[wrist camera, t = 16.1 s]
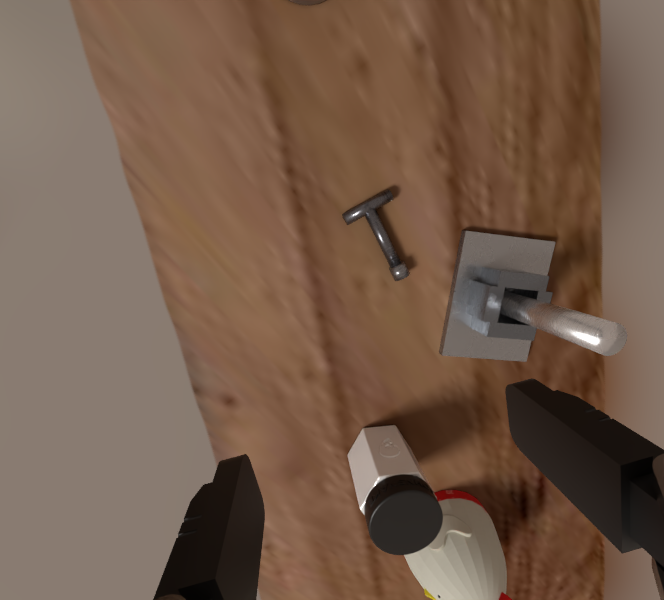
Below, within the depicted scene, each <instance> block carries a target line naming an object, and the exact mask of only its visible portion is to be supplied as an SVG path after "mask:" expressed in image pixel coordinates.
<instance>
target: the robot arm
mask: <svg viewBox="0 0 664 600" xmlns="http://www.w3.org/2000/svg"><path fill="white" fill-rule="evenodd" d="M289 1H291V2H294V3H297V4H301V5H314V4H319V3H321V2H324V1H326V0H289ZM506 400H507V409H508V418H509V427H510V432H511V435H512V438H513V440H514V442H515V444H516V445H517V447H518V448H519V449H520V451H521V452H522V453H523V454H524V455H525V456H526V457H527V458H528V459H529V460H530V461H531V462H532V463H533V464H534V465H535V466H536V467H537V468H538V469H539V470H540V471H541V472H542V473H543V474H544V475H545V476H546V477H547V478H548V479H549V480H550V481H551V482H552V483H553V484H554V485H555V486H556V487H557V488H558V489H559V490H560V491H561V492H562V493H563V494H564V495H565V496H566V497H567V498H568V499H569V500H570V501H571V502H572V503H573V504H574V505H575V506H576V507H577V508H578V509H579V510H580V511H581V512H582V513H583V514H584V515H585V516H586V517H587V518H588V519H589V520H590V521H591V522H592V523H593V524H594V525H595V526H596V527H597V529H598V530H599V531H600V532H601V533H602V534H603V535H604V536H605V537H606V538H608V540H609V541H610V542H611V543H612V544H613V545H615V547H616V548H617V549H618V550H619V551H620V552H621V553H626V552H629V551H632V550H635V549H639V548H643V549H645V550H646V551H647V552H648V553H649V554H650V555H651V556H652V569H653V573H654V576H655V580H656V584H657V588H658V591H659V595H660V599H661V600H664V450H663V449H662V448H660V447H658V446H656V445H655V444H653V443H652V442H650V441H649V440H647V439H645V438H644V437H642V436H640V435H639V434H637V433H636V432H634V431H632V430H631V429H629V428H627V427H626V426H624V425H622V424H621V423H619V422H618V421H616V420H614V419H610V417H609V416H608V415H606V414H605V413H603V412H601V411H600V410H596V409H595V407H593V406H592V405H590V404H588V403H587V402H585V401H583V400H582V399H580V398H579V397H576V396H573V395H570V394H567V393H564V392H561V391H558V390H556V391H553V390H551V389H550V388H548V387H546V386H545V385H543V384H542V383H540V382H539V381H537V380H535V379H528V380H525V381H521V382H517V383H513V384H510V385H507V387H506ZM264 520H265V512H264V503H263V498H262V495H261V492H260V489H259V486H258V483H257V480H256V477H255V474H254V471H253V468H252V465H251V462H250V459H249V457H248V456H247V455H246V454H244V455H241V456H237V457H233V458H229V459H226V460H222V461H220V462H219V464H218V467H217V470H216V473H215V476H214V479H213V482H212V483H208V484H205V485H203V486H202V487H201V489H200V490H199V491H198V493H197V494H196V495H195V496H194V498H193V499H192V500H191V502H190V504H189V507H188V510H187V512H186V515H185V518H184V522H183V523H182V525H181V528H180V531H179V533H178V538H176V541H175V544H174V546H173V549H172V552H171V554H170V557H169V560H168V562H167V565H166V568H165V570H164V573H163V575H162V578H161V581H160V583H159V586H158V588H157V591H156V594H155V596H154V599H153V600H256V596H257V586H258V577H259V568H260V558H261V549H262V540H263V530H264Z"/></svg>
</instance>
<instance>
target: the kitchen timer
mask: <svg viewBox="0 0 664 600" xmlns="http://www.w3.org/2000/svg"><path fill="white" fill-rule="evenodd" d="M435 495H436V497H437V500H438V502H439V504H440V506H441V509H442V512H443V523H442V527H441V530H440V532H439V534H438V535H437V537H436V538H435V539H434V540H433V542H432V543H430V544H429V545H428V546H427V547H425V548H424V549H422V550H420V551H418V552H415V553H412V554H407V555H404V556H405V558H406V560H407V563H408V565H409V567H410V569H411V571H412V572H413V574H414V576H415V577H416V579H417V580H418V581H419V583H420V584H421V586H422V587H423V588H424V590H425V595H426V596H428V597H429V598H431V599H433V600H512V599H511V598H510V597H508V596H507V595H506V584H507V572H506V563H505V558H504V554H503V551H502V548H501V544H500V541H499V538H498V535H497V532H496V530H495V527H494V524H493V522H492V520H491V518H490V516H489V514H488V513H487V511H486V510H485V508H484V507H483V505H482V504H481V503H480V502H479V501H478V500H477V498H475V497H473V496H472V495H470V494H468V493H467V492H462V491H458V490H442V491H439V492H435Z"/></svg>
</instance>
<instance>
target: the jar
mask: <svg viewBox="0 0 664 600" xmlns="http://www.w3.org/2000/svg"><path fill="white" fill-rule="evenodd" d="M348 460H349V464H350V468H351V473H352V477H353V481H354V486H355V490H356V494H357V499H358V503H359V508H360V510H361V511H362V512H363V514H364V515H365V518H366V522H367V526H368V530H369V534H370V537H371V539H372V541H373V543H374V544H375V545H376V546H377V547H378V548H379V549H381V550H383V551H384V552H387V553H389V554H394V555H407V554H412V553H415V552H418V551H420V550H422V549H424V548H425V547H427V546H428V545H429V544H430V543H432V542H433V540H434V539H435V538H436V537H437V535H438V534H439V532H440V530H441V527H442V523H443V512H442V509H441V506H440V504H439V502H438V500H437V497H436V495H435V493H434V492H433V490H432V488H431V486H430V484H429V482H428V480H427V478H426V476H425V474H424V472H423V471H422V469H421V467H420V465H419V463H418V461H417V459H416V457H415V455H414V453H413V451H412V450H411V448H410V446H409V445H408V443H407V442H406V440H405V439H404V437H403V436H402V434H401V433H400V431H399V430H398V428H397V427H396V426H395V425H390V426H380V427H370V428H363V429H362V431H361V432H360V434H359V436H358V437H357V439H356V441H355V443H354V444H353V446H352V448H351V450H350V451H349V453H348Z"/></svg>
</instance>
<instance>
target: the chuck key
mask: <svg viewBox="0 0 664 600" xmlns="http://www.w3.org/2000/svg"><path fill="white" fill-rule="evenodd" d="M392 200H393V195H392V193H391V191H390V190H389V189H387V190H385V191H383V192H381V193H380V194H378V195H376V196H374V197H372V198H371V199H369V200H367V201H365V202H363V203H362V204H360V205H358V206H356V207H354V208H353V209H351V210H349V211H347V212H345V213H344V214H342V216H343V218H344V220H345V222H346V224H347V225H349V224H351V223H353V222H354V221H356V220H358V219H360V218H362V217H363V216H365V217H366V219H367V221H368V223H369V225H370V227H371V229H372V231H373V233H374V235H375V237H376V239H377V241H378V243H379V245H380V247H381V249H382V251H383V253H384V255H385V257H386V259H387V261H388V263H389V265H390V268H389V270H390V272H391V274H392V276H393V278H394V280H395V281H399V280H402V279H404V278H406V277H407V276H408V275H409V274H410V272H409V270H408V268H407V266H406V264H405V262H404V261H400V259H399V257H398V255H397V253H396V251H395V248H394V246H393V244H392V242H391V240H390V238H389V236H388V234H387V232H386V230H385V228H384V226H383V224H382V222H381V220H380V217H379V215H378V213H377V211H376V209H378V208H380V207H381V206H383V205H385V204H387V203H389V202H390V201H392Z"/></svg>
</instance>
